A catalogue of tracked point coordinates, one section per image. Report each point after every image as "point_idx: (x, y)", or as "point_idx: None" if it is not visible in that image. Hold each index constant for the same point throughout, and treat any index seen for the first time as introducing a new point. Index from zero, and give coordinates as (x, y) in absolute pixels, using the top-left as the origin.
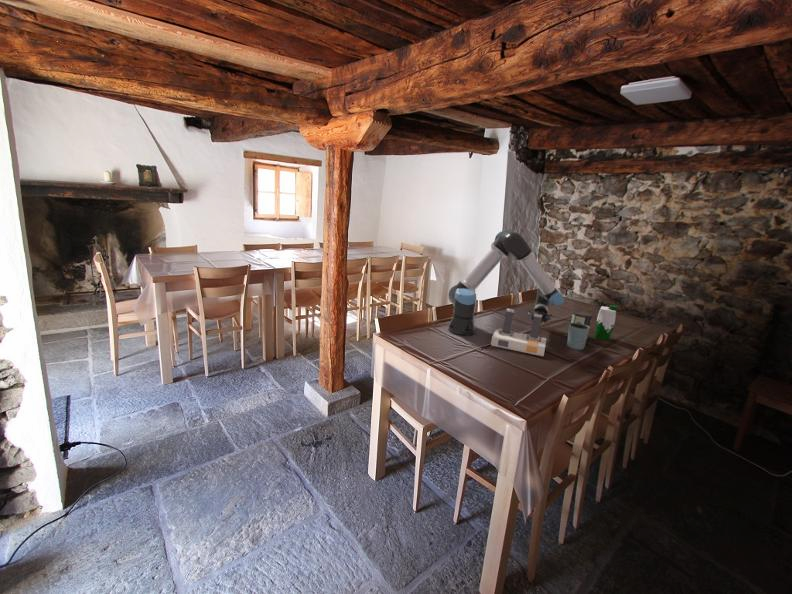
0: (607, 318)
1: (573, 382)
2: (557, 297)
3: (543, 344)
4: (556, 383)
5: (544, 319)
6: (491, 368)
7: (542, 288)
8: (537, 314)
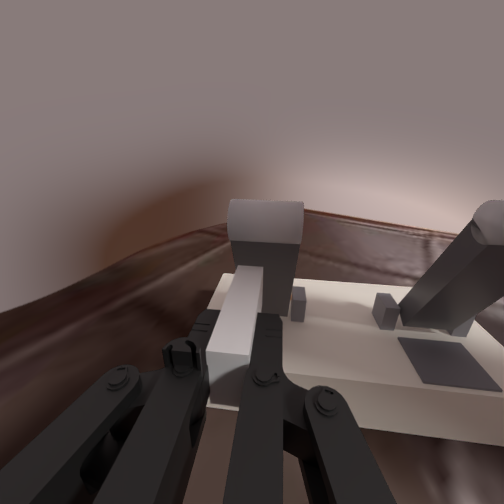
0: None
1: (190, 239)
2: None
3: (224, 287)
4: (224, 234)
5: (145, 379)
6: (339, 240)
7: None
8: (273, 201)
